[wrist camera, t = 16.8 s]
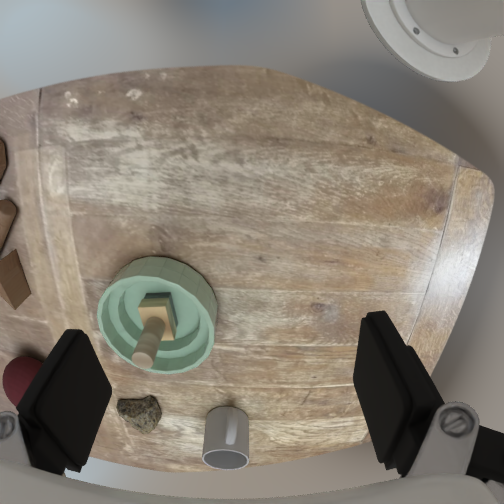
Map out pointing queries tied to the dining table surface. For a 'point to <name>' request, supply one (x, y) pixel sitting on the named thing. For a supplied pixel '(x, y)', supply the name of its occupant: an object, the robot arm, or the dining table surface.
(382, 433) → the robot arm
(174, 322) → the wooden stamp
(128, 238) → the dining table surface
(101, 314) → the bowl
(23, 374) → the decorative ball
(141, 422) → the rock
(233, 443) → the cup
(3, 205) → the wooden block set
